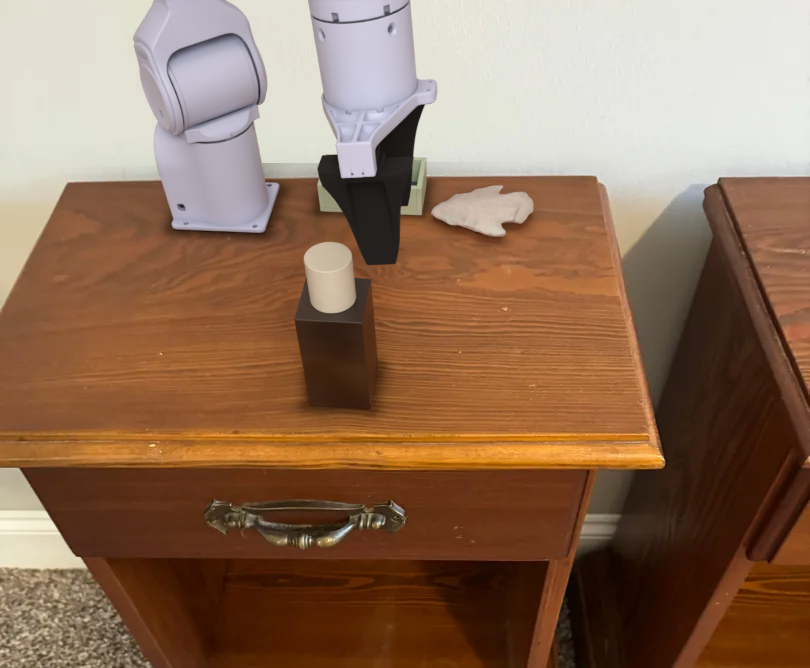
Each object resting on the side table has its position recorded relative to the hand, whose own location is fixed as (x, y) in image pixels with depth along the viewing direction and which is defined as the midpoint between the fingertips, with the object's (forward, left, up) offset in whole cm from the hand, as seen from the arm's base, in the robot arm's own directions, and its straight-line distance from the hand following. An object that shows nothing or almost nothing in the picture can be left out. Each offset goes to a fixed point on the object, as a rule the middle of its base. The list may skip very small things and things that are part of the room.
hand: (388, 232), depth 54 cm
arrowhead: (+6, +22, -14) cm, 26 cm away
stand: (-4, -2, -13) cm, 14 cm away
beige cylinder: (-4, -2, -4) cm, 6 cm away
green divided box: (-5, +25, -13) cm, 29 cm away
